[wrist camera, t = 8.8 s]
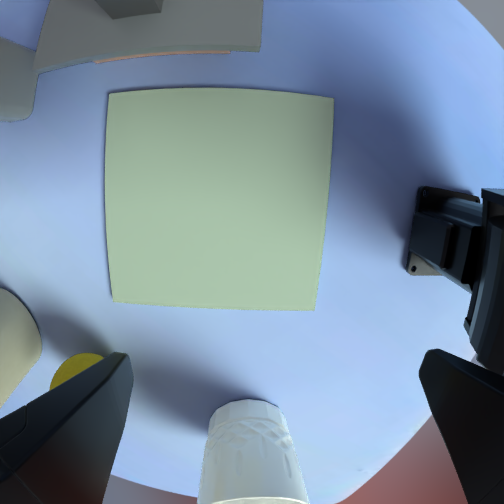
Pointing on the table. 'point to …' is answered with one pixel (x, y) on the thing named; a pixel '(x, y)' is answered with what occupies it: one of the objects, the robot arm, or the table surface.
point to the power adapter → (16, 81)
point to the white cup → (250, 457)
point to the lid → (143, 29)
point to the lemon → (74, 367)
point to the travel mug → (16, 343)
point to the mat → (217, 197)
